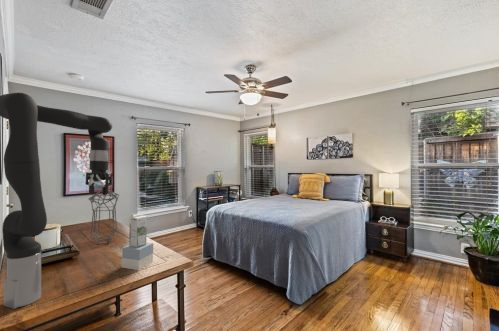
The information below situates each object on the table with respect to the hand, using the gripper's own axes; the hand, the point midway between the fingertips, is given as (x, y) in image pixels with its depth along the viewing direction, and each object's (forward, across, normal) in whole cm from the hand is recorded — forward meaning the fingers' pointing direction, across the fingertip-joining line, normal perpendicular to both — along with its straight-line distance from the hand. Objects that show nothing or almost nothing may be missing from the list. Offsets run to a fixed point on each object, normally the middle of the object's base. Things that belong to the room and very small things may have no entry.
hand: (98, 194), depth 113 cm
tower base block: (+36, +12, +13) cm, 40 cm away
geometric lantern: (+35, -34, +32) cm, 59 cm away
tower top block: (+31, +12, +13) cm, 36 cm away
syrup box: (+26, +12, +13) cm, 32 cm away
